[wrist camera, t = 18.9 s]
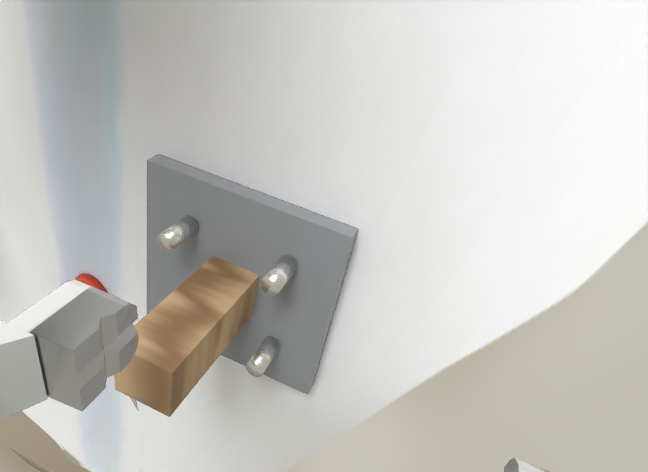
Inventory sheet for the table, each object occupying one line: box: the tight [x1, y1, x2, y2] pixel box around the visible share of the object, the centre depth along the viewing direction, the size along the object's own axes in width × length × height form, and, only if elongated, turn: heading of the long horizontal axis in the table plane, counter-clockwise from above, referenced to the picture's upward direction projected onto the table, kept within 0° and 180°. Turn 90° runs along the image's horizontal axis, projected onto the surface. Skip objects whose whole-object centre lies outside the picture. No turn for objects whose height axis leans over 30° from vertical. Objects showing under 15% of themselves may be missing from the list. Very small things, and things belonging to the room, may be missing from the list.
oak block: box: [114, 256, 259, 417], centre depth 36 cm, size 4×4×12 cm
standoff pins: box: [156, 215, 298, 377], centre depth 40 cm, size 11×11×4 cm
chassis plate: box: [147, 155, 358, 394], centre depth 42 cm, size 18×18×2 cm
